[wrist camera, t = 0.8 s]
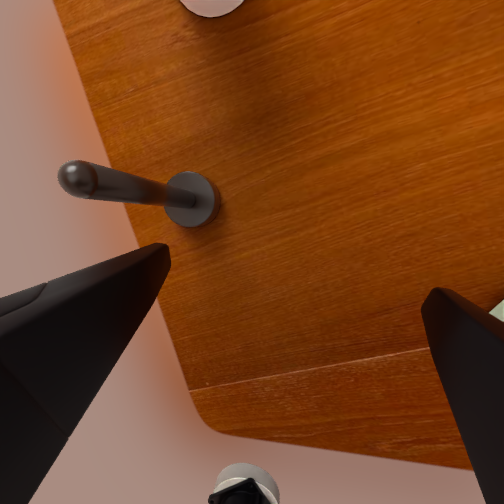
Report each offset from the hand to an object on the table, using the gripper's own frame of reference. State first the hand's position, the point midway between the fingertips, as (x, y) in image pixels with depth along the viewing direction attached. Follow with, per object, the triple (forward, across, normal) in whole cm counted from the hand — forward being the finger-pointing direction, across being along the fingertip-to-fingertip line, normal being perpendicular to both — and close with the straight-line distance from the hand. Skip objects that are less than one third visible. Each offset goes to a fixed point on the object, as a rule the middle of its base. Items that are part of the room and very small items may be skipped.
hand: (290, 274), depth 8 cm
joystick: (+14, +9, +4) cm, 18 cm away
